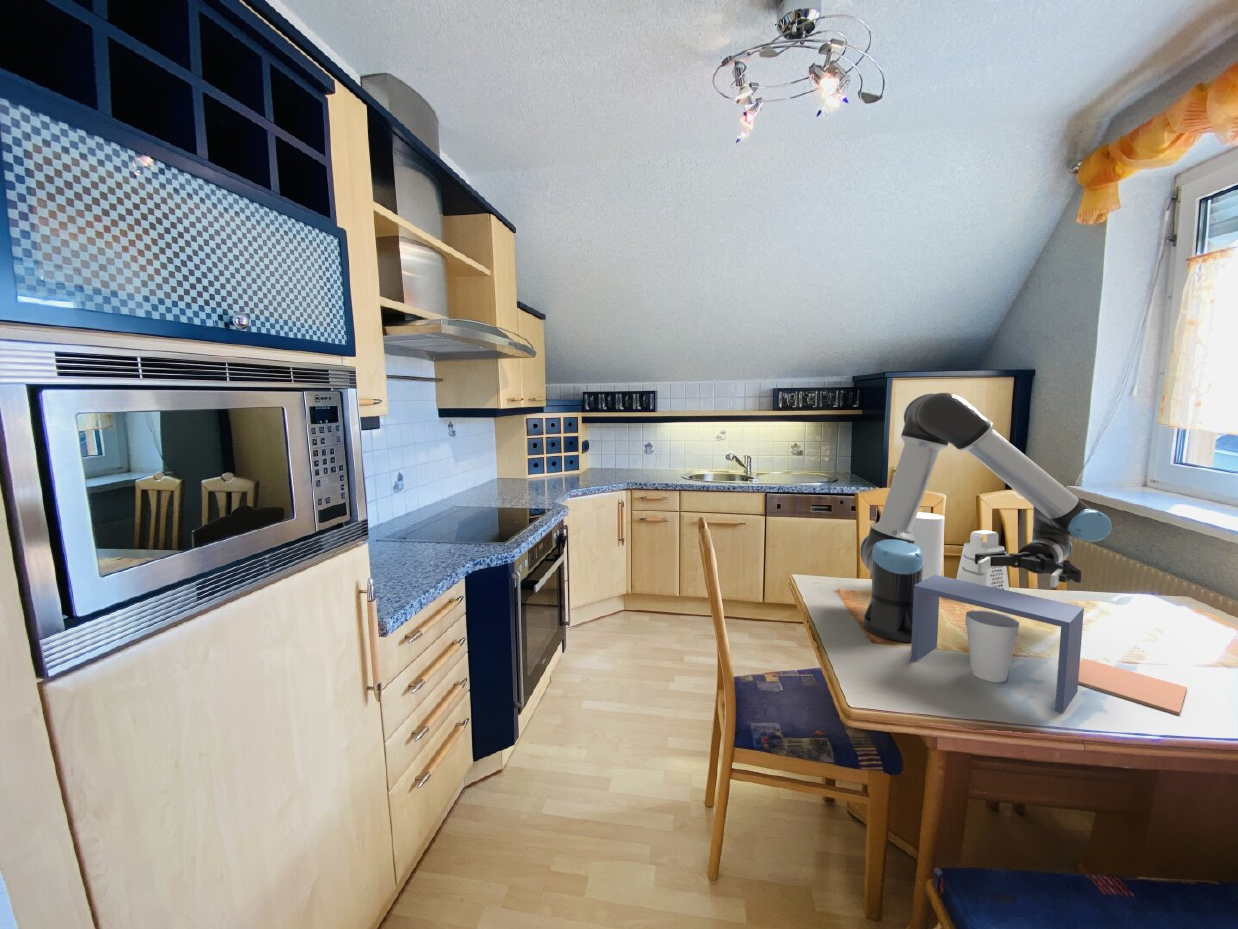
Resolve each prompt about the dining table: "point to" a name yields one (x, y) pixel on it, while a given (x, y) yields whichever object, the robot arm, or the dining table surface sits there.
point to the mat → (1132, 686)
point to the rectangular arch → (1003, 602)
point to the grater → (970, 569)
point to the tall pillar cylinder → (930, 542)
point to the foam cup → (991, 643)
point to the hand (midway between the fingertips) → (1014, 574)
